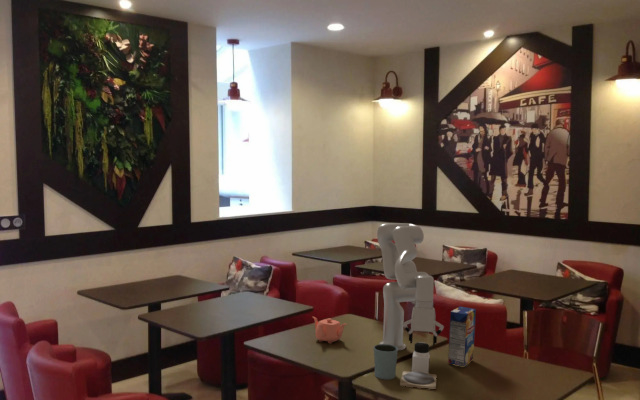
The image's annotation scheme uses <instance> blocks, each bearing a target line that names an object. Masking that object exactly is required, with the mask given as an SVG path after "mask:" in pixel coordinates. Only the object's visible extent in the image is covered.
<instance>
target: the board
mask: <svg viewBox="0 0 640 400" xmlns="http://www.w3.org/2000/svg"><path fill="white" fill-rule="evenodd" d="M401 373H402V374H401V378H400V381H399V386H400V387H405V386H406V387H405V388H413V387H417V388H416V389H421V388H430V389H436V388H437V379H436V378H437V376H438V375H437V374H434V373H429V374H427V373H422V372H412V371H408V370H403V371H402V372H401ZM430 389H429V390H430Z"/></svg>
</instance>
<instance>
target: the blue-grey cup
mask: <svg viewBox="0 0 640 400" xmlns="http://www.w3.org/2000/svg"><path fill="white" fill-rule="evenodd" d="M398 352H399V350H398V348H397V347H396V346H393V345H389V344H380V343H379V344H376V345H374V346H373V358H374V363H373V364H374V376H375V377H376V378H377V379H380V380H388V381H389V380H393V379H395V377H396V373H397V371H396V370H397V361H398Z"/></svg>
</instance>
